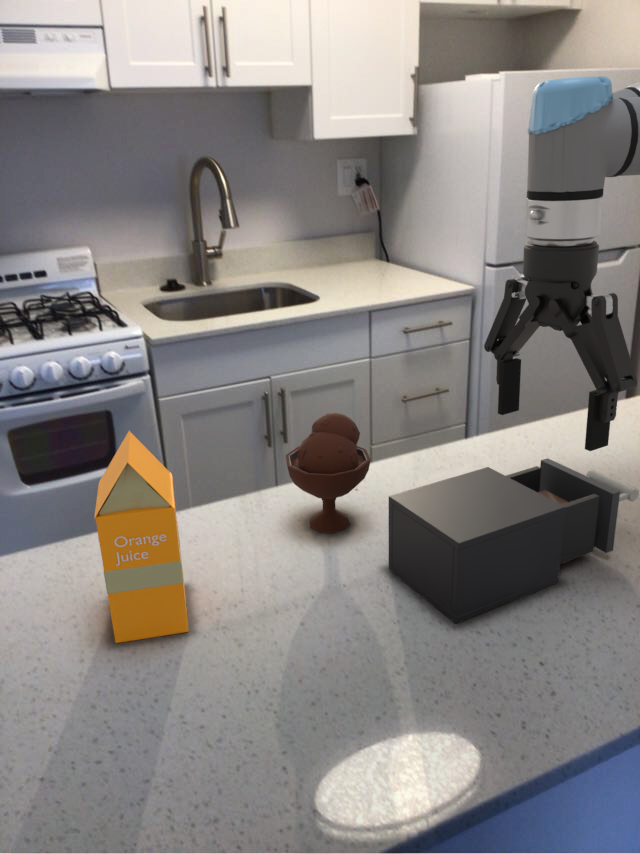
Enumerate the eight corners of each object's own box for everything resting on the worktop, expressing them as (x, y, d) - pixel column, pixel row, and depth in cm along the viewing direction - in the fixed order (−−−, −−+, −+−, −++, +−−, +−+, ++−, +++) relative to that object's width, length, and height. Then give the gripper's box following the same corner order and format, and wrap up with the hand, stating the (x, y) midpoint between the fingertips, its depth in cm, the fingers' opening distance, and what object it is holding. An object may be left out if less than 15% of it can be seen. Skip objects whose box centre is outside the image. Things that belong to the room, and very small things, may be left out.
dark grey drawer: (577, 500, 102) (583, 447, 99) (649, 536, 92) (657, 478, 90) (461, 540, 93) (463, 483, 90) (527, 584, 84) (532, 521, 81)
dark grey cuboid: (484, 535, 96) (488, 466, 92) (558, 582, 85) (565, 506, 82) (388, 568, 89) (388, 495, 86) (456, 624, 79) (459, 543, 75)
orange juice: (185, 586, 87) (167, 424, 80) (190, 631, 79) (169, 456, 72) (116, 596, 86) (90, 432, 78) (113, 644, 78) (84, 466, 70)
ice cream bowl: (297, 501, 106) (293, 401, 101) (376, 507, 104) (376, 404, 98) (278, 539, 97) (272, 430, 91) (365, 546, 94) (363, 434, 89)
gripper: (456, 233, 88) (454, 405, 95) (636, 257, 67) (614, 474, 75) (506, 226, 91) (500, 393, 99) (691, 247, 70) (665, 456, 78)
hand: (549, 428), depth 87 cm, fingers open, 13 cm apart
